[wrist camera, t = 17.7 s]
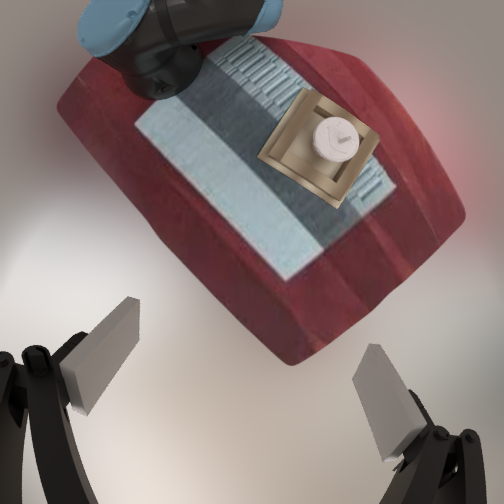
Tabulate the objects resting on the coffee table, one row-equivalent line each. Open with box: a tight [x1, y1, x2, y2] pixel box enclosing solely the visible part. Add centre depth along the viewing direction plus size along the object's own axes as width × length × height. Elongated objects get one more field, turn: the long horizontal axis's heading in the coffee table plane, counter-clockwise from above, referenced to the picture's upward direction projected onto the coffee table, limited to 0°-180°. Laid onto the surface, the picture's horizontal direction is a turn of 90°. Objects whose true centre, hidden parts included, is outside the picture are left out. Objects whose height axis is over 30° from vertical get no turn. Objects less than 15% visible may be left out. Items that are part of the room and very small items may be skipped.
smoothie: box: [312, 117, 359, 163], centre depth 35 cm, size 6×6×14 cm
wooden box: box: [257, 87, 380, 209], centre depth 41 cm, size 16×15×6 cm
